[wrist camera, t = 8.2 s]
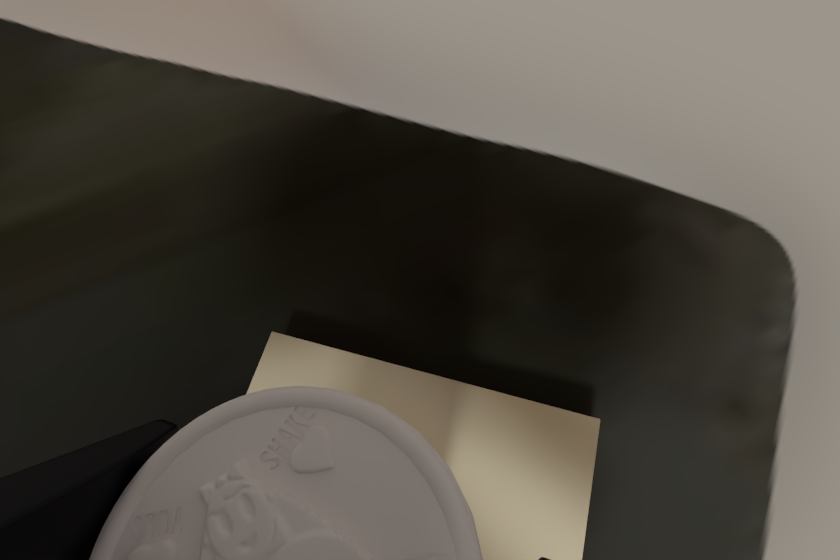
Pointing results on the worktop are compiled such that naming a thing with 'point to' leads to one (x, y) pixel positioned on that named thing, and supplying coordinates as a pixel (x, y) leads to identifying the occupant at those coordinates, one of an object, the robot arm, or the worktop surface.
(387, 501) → the smoothie
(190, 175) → the worktop surface
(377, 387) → the cutting board
